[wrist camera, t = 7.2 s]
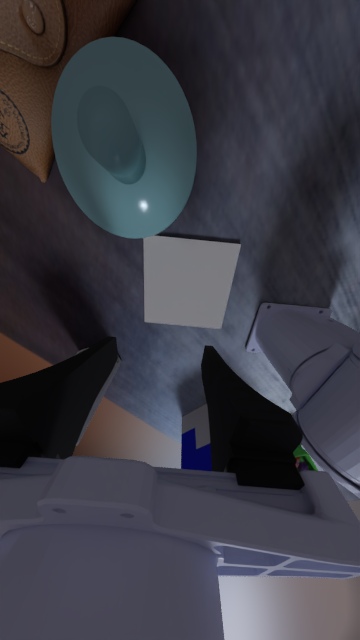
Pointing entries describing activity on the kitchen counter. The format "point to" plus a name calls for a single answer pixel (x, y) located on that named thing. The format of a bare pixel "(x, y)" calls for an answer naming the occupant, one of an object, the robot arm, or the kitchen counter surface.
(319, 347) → the robot arm
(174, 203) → the lid
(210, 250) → the plate
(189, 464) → the puzzle toy
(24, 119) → the sunglasses case
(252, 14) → the kitchen counter surface
